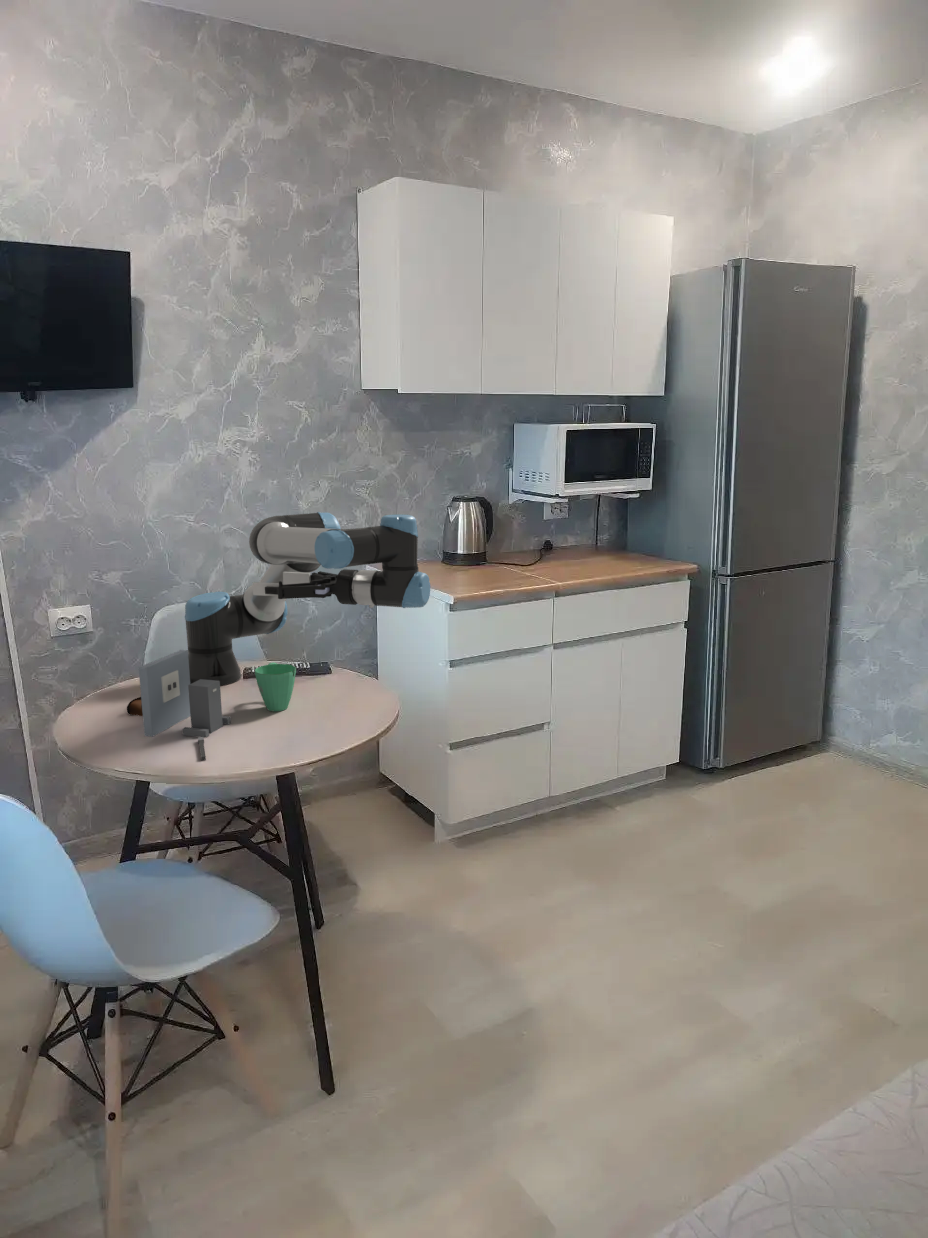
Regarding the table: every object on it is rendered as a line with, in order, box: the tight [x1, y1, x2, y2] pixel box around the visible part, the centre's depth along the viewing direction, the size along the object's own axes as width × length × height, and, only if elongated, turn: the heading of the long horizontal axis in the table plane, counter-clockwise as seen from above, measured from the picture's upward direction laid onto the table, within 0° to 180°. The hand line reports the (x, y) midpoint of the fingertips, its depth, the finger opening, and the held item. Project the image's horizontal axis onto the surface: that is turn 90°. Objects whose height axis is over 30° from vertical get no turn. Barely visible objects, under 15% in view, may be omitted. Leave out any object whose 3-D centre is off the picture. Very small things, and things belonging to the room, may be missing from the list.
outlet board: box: [138, 649, 232, 738], centre depth 207 cm, size 16×14×16 cm
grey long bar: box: [197, 737, 207, 761], centre depth 194 cm, size 12×1×1 cm, turn 18°
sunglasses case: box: [126, 696, 143, 717], centre depth 226 cm, size 18×7×7 cm
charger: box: [188, 679, 224, 735], centre depth 207 cm, size 5×6×11 cm
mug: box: [254, 662, 297, 712], centre depth 224 cm, size 15×10×10 cm
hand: (269, 583), depth 200 cm, fingers open, 13 cm apart
